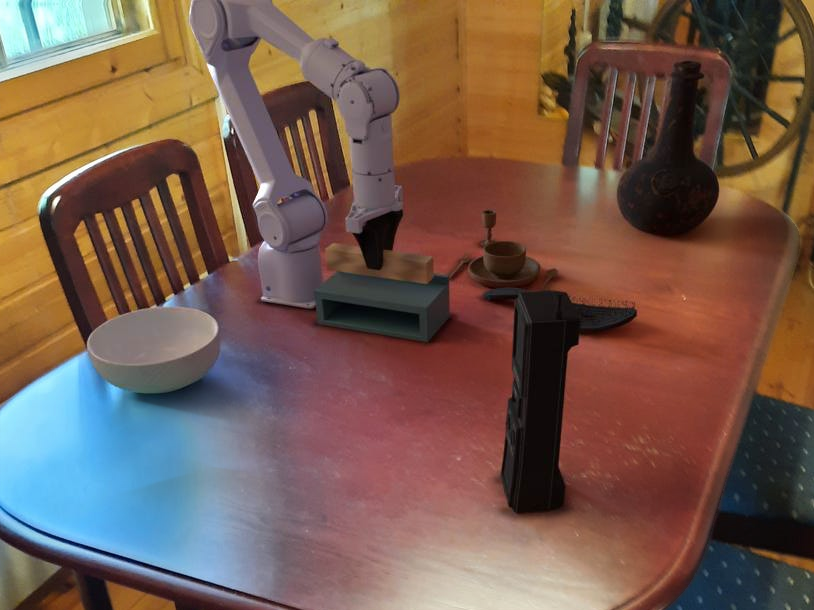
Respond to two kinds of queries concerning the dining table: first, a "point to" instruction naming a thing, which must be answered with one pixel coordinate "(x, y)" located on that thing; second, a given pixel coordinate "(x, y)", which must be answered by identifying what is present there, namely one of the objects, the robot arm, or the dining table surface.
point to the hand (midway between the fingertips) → (378, 264)
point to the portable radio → (537, 400)
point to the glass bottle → (671, 168)
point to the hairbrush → (580, 311)
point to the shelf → (384, 305)
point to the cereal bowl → (155, 348)
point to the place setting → (503, 262)
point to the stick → (392, 267)
